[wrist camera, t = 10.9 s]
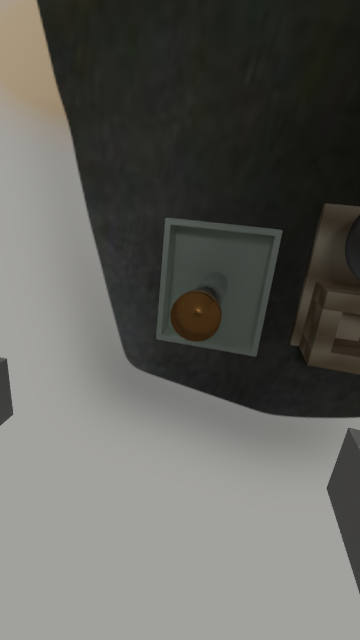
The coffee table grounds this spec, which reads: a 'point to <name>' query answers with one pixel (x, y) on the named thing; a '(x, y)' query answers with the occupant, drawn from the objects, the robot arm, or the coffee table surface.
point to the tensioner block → (332, 294)
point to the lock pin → (200, 309)
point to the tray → (233, 263)
